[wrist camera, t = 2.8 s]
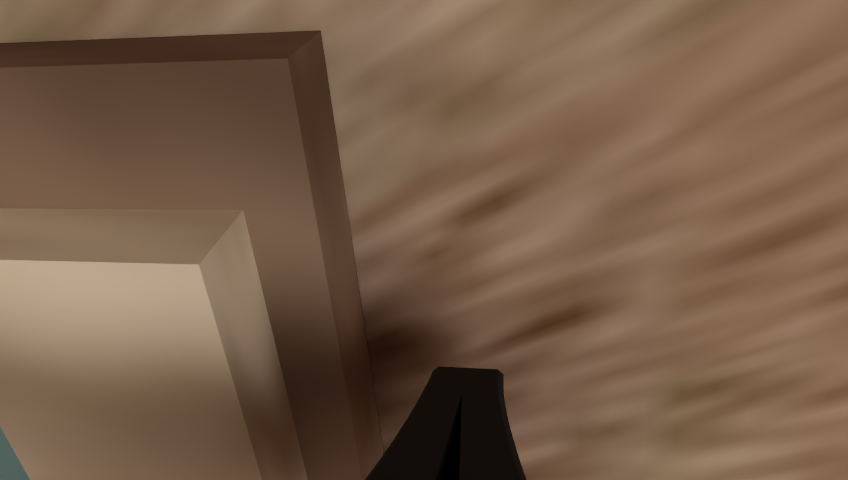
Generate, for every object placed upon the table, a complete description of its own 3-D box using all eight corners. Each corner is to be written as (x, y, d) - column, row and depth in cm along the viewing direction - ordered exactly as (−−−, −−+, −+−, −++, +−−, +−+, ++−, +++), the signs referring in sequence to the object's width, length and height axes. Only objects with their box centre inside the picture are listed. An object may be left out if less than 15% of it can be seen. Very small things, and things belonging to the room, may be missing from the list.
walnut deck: (389, 495, 20) (376, 555, 18) (96, 471, 22) (59, 523, 20) (320, 30, 13) (287, 58, 11) (-106, 47, 15) (-191, 74, 13)
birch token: (307, 479, 17) (282, 549, 15) (101, 462, 18) (56, 526, 16) (242, 210, 13) (198, 264, 11) (-19, 208, 14) (-95, 257, 12)
